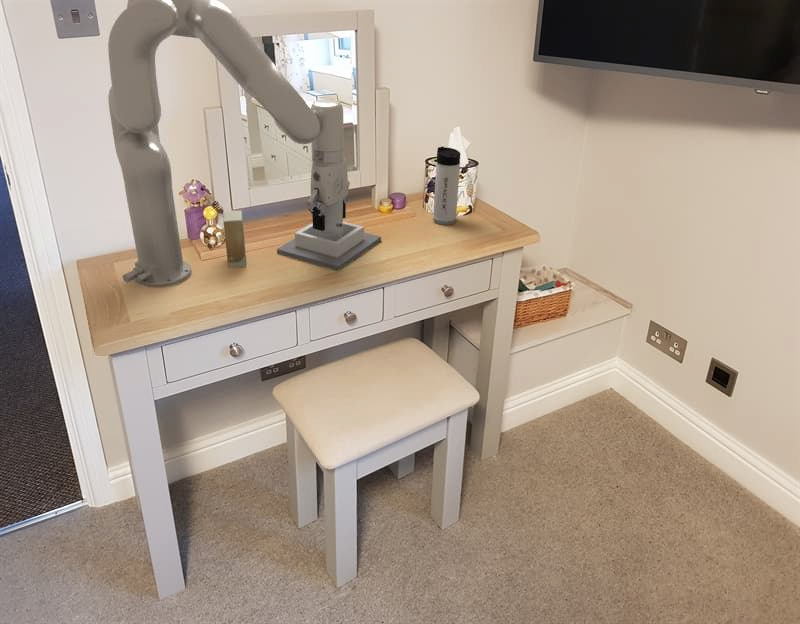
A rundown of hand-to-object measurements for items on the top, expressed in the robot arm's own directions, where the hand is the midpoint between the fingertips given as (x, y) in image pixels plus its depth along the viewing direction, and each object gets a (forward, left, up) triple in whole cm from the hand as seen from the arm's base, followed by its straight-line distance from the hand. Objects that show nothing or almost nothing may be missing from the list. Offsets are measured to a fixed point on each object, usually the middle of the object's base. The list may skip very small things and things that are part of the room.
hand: (329, 223), depth 171 cm
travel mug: (+31, -17, -7) cm, 36 cm away
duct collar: (0, 0, -7) cm, 7 cm away
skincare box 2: (+1, 0, -6) cm, 6 cm away
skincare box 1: (-19, +14, -7) cm, 25 cm away
